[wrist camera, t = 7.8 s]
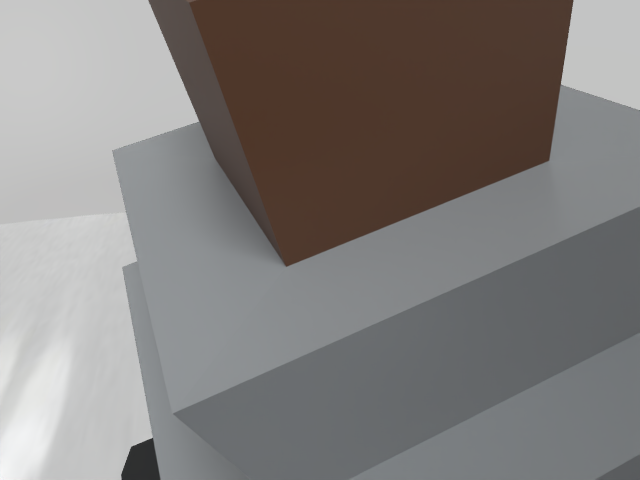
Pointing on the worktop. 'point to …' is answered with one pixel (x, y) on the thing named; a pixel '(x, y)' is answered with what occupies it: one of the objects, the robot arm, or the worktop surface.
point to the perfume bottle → (386, 247)
